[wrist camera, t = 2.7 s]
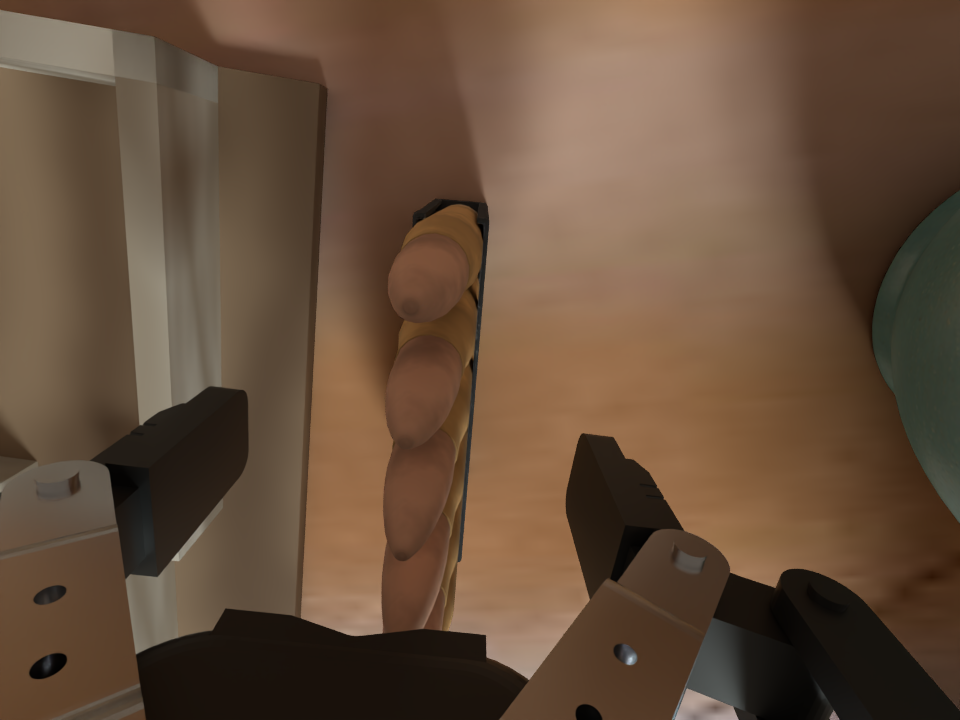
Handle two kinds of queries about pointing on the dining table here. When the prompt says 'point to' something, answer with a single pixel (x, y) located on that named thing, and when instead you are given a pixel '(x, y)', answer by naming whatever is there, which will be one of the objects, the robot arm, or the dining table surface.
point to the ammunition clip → (431, 410)
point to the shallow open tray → (161, 285)
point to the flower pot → (926, 344)
